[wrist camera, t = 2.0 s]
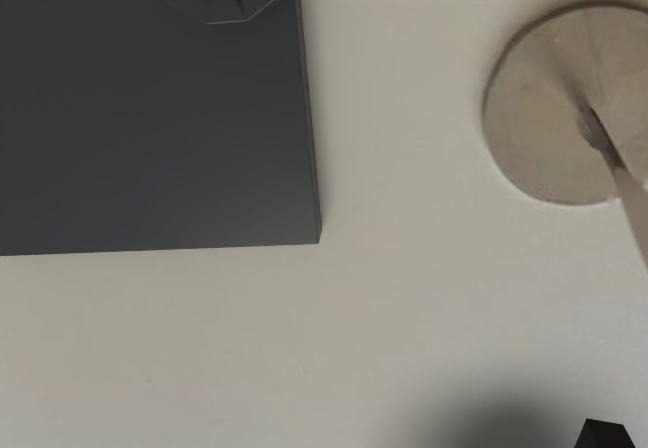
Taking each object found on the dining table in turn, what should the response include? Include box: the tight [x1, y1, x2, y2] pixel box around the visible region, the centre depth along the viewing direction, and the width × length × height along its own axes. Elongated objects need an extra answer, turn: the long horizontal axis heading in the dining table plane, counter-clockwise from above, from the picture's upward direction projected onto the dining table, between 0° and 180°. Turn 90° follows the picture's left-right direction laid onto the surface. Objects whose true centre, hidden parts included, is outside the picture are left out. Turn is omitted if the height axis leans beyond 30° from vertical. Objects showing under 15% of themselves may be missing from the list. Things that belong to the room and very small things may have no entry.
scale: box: [0, 0, 322, 256], centre depth 25 cm, size 18×17×4 cm
